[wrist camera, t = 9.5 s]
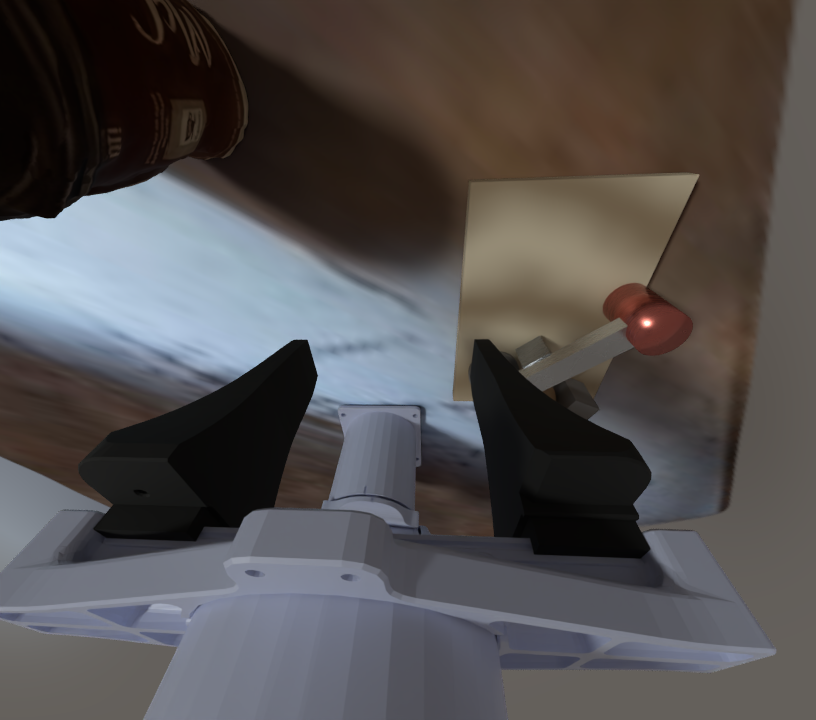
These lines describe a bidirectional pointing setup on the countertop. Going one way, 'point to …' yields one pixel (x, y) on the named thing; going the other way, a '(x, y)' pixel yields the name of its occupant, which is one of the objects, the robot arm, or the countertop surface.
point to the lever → (610, 337)
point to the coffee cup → (108, 97)
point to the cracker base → (558, 263)
